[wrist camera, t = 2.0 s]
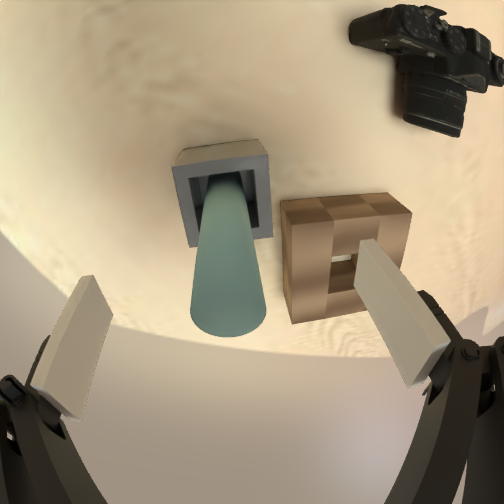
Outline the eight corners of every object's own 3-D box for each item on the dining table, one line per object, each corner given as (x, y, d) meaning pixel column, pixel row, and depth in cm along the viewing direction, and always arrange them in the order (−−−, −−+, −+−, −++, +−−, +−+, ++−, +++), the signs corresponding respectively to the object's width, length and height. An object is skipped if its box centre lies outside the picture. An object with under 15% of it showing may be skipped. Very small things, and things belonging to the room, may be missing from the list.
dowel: (205, 167, 23) (182, 289, 10) (240, 162, 23) (263, 279, 10) (210, 198, 25) (199, 340, 11) (243, 194, 25) (268, 332, 12)
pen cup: (183, 149, 23) (171, 167, 18) (257, 139, 23) (267, 154, 18) (195, 214, 26) (189, 247, 21) (263, 206, 27) (273, 237, 22)
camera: (341, 107, 22) (403, 124, 13) (347, 8, 16) (407, -19, 8) (445, 133, 23) (509, 162, 15) (453, 51, 17) (519, 58, 9)
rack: (280, 201, 26) (291, 225, 22) (387, 192, 27) (412, 212, 23) (283, 293, 33) (291, 324, 29) (373, 279, 33) (389, 305, 29)
